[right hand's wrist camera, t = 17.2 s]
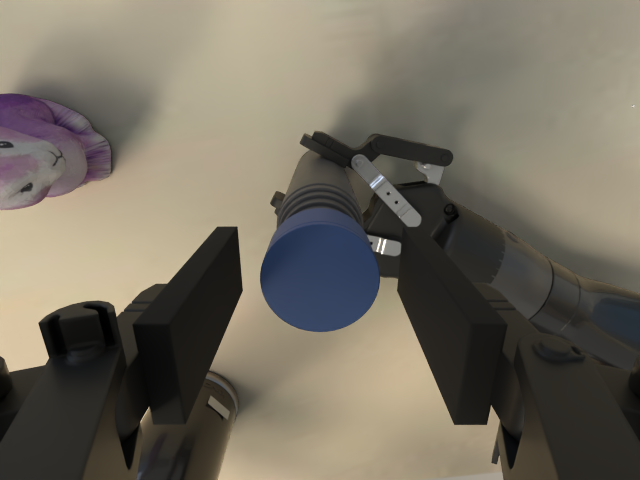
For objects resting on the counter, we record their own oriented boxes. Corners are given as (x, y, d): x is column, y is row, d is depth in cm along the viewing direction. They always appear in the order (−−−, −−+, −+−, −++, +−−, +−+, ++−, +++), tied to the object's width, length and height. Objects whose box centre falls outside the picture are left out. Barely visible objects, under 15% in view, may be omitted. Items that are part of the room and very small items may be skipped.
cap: (247, 265, 14) (236, 290, 12) (310, 185, 13) (308, 199, 11) (328, 320, 15) (329, 351, 13) (393, 249, 14) (404, 272, 12)
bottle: (327, 138, 32) (340, 191, 12) (352, 179, 33) (403, 291, 13) (287, 165, 33) (233, 257, 12) (313, 204, 34) (302, 346, 14)
